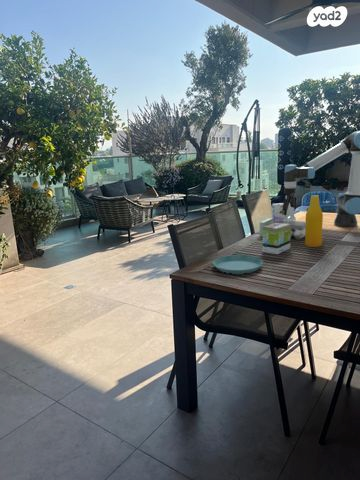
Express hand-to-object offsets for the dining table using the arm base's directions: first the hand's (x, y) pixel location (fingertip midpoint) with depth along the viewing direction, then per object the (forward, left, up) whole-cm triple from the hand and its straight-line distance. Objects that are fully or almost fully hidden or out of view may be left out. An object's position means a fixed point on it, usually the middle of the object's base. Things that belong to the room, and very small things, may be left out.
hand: (288, 218), depth 244 cm
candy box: (+11, -16, -9) cm, 21 cm away
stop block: (+10, +17, -9) cm, 21 cm away
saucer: (-5, +91, -9) cm, 91 cm away
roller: (0, 0, -4) cm, 4 cm away
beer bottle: (-26, +35, -9) cm, 45 cm away
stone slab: (-10, +17, -2) cm, 20 cm away
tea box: (-11, +54, -9) cm, 56 cm away
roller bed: (-10, +17, -9) cm, 22 cm away
